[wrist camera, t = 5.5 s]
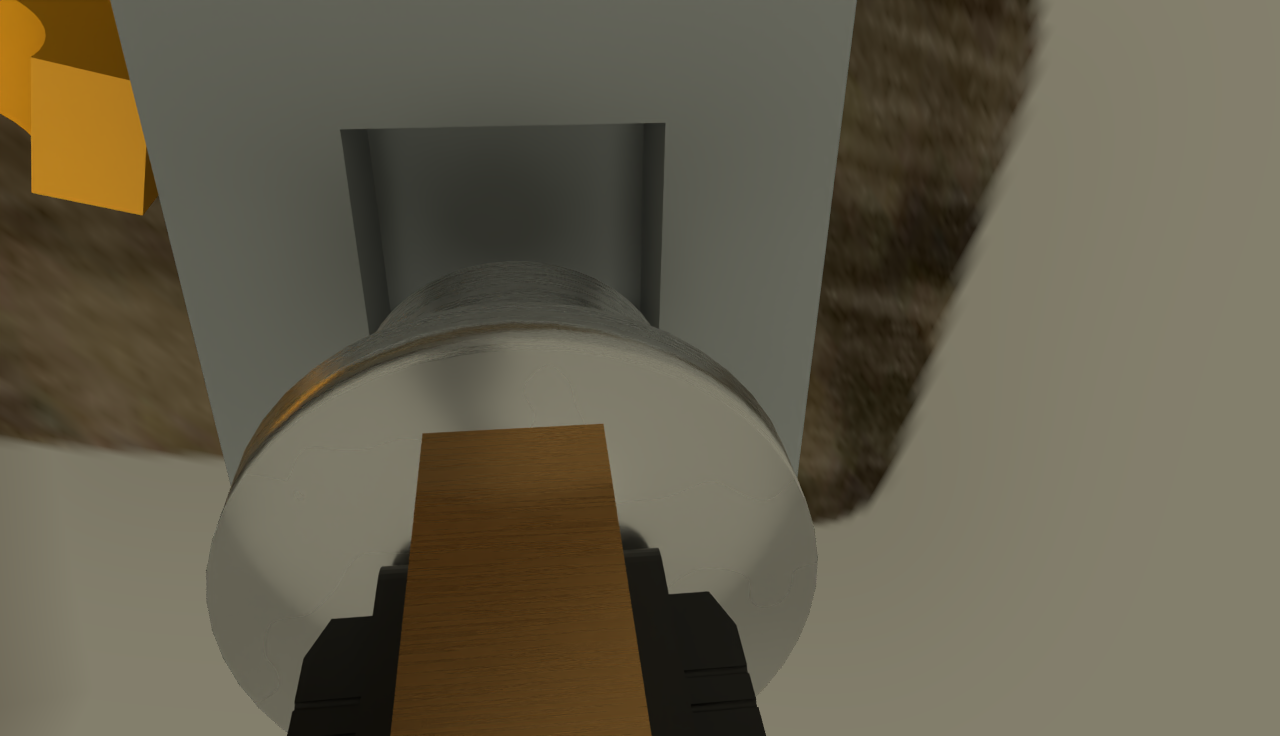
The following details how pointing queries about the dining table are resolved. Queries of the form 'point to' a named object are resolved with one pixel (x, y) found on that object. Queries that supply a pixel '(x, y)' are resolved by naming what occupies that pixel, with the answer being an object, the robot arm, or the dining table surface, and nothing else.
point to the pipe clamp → (74, 102)
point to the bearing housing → (490, 169)
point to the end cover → (508, 507)
